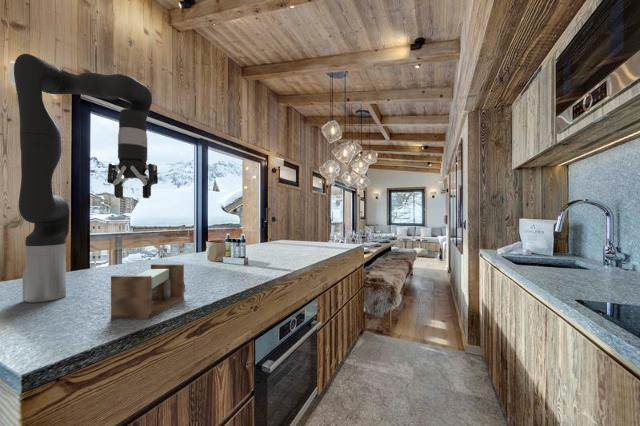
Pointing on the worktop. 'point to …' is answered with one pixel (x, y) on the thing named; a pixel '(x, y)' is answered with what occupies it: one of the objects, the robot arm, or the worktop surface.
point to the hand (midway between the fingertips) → (132, 198)
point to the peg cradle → (146, 293)
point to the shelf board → (156, 276)
